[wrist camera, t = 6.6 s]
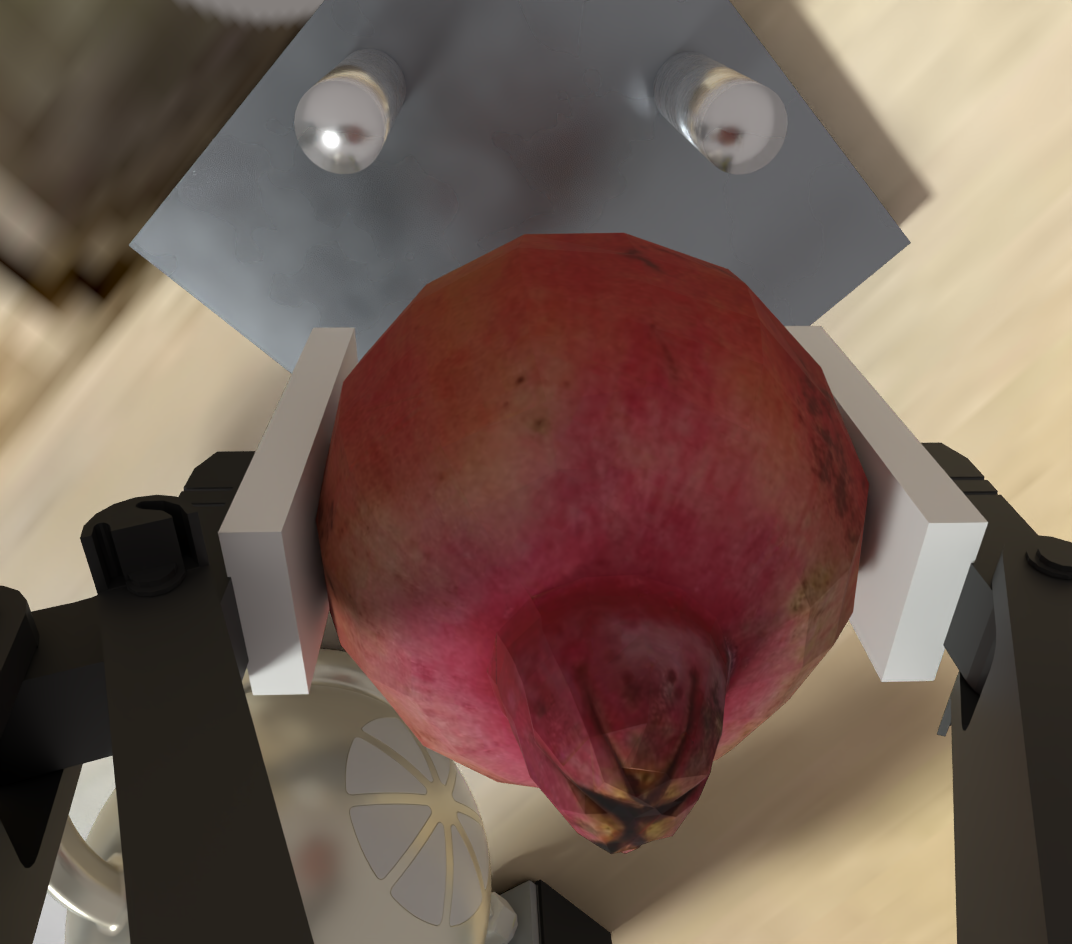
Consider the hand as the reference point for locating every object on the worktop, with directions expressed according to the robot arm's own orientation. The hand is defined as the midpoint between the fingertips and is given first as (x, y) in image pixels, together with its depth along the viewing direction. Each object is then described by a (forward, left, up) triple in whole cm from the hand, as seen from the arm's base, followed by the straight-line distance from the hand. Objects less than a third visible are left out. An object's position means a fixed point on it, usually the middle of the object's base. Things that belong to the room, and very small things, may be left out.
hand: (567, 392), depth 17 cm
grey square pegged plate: (0, 0, -11) cm, 11 cm away
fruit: (0, 0, 0) cm, 0 cm away
